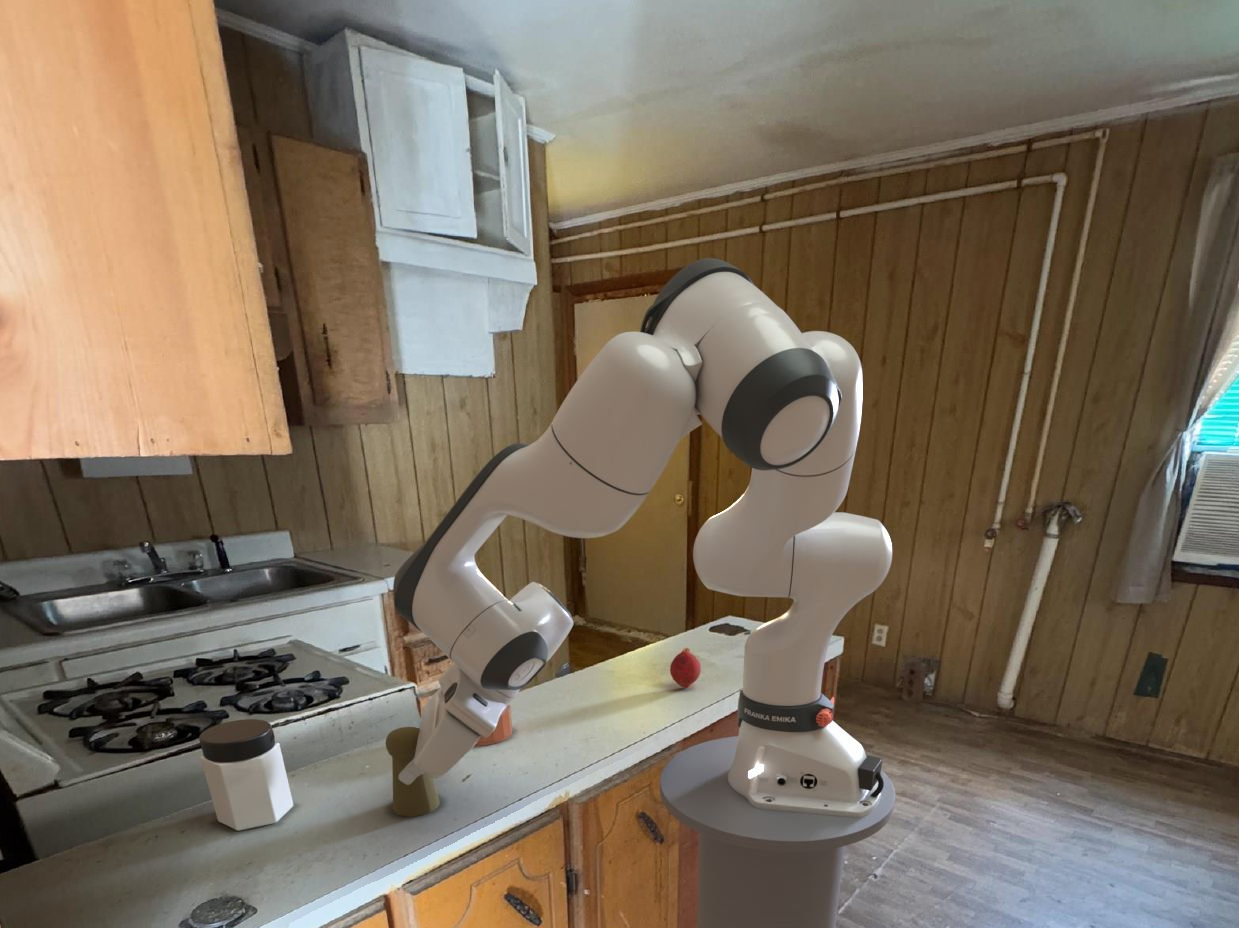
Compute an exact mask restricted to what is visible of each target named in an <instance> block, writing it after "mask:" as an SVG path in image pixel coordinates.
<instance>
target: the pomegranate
mask: <svg viewBox="0 0 1239 928" xmlns="http://www.w3.org/2000/svg"><path fill="white" fill-rule="evenodd" d="M701 667H702V666H701V662H700V660H699V659H698V658H697V657H696V656H695V654H693V653H692V652H691V650H690V648H689V647H688V646H687V647H684V648H683V649H682V651H681V652H679V653H678V654H677V655H675V656H674V658H673V660H672V661H671V663H670V666H669V673H670V676H671V679H672V680H673V681H674V682H675V683H676V684H677V685H678V686H680V687H682V688H684V689H687V688H689V687H690V686H691V685H692V684H694V683H695V682H696V681H698V679H699V677H700V675H701V671H702V668H701Z"/></svg>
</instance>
